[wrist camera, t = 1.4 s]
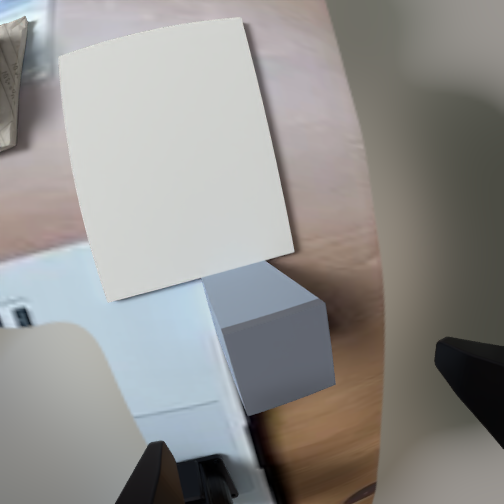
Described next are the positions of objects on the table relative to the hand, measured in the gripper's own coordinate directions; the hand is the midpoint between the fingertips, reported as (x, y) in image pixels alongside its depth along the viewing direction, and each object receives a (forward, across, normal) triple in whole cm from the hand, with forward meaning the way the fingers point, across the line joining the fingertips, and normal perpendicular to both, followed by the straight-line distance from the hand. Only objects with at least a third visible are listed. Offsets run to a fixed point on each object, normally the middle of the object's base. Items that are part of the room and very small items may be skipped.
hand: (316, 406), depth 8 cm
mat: (+13, +2, -8) cm, 16 cm away
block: (+13, 0, +2) cm, 13 cm away
